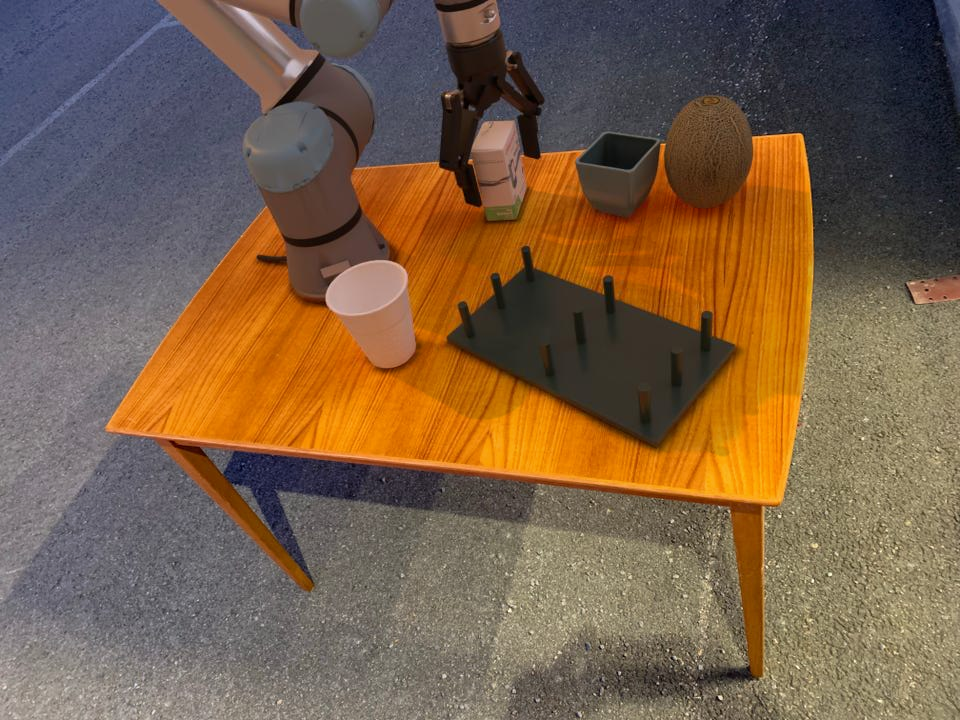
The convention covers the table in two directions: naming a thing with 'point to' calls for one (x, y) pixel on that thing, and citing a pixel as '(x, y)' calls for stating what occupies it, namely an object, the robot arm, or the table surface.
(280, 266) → the table surface
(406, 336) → the cup
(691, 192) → the fruit
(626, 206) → the flower pot
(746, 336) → the table surface
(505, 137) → the ink box
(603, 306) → the dish rack
